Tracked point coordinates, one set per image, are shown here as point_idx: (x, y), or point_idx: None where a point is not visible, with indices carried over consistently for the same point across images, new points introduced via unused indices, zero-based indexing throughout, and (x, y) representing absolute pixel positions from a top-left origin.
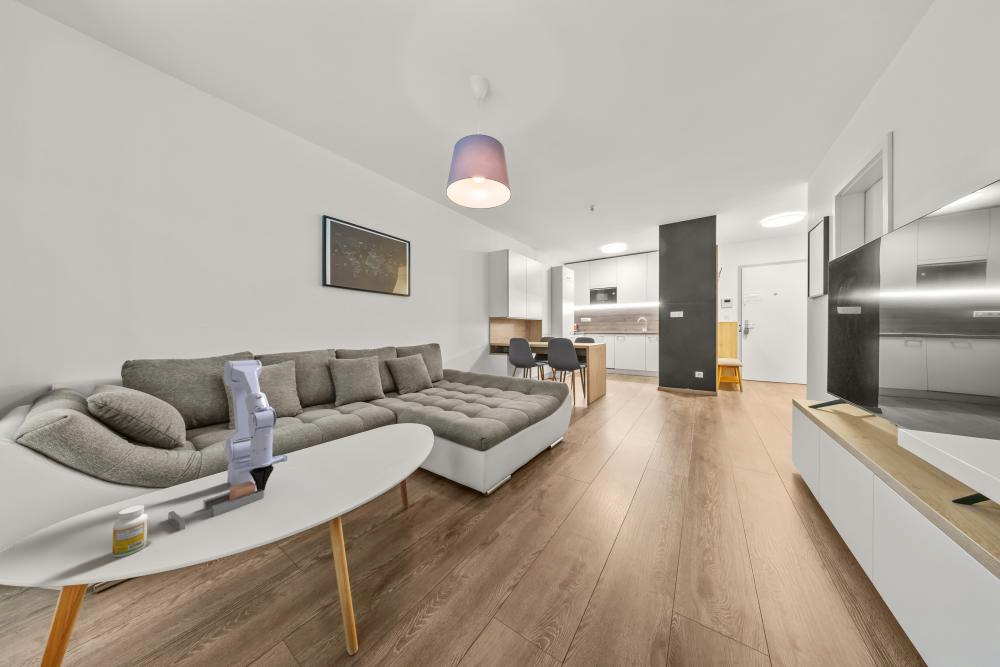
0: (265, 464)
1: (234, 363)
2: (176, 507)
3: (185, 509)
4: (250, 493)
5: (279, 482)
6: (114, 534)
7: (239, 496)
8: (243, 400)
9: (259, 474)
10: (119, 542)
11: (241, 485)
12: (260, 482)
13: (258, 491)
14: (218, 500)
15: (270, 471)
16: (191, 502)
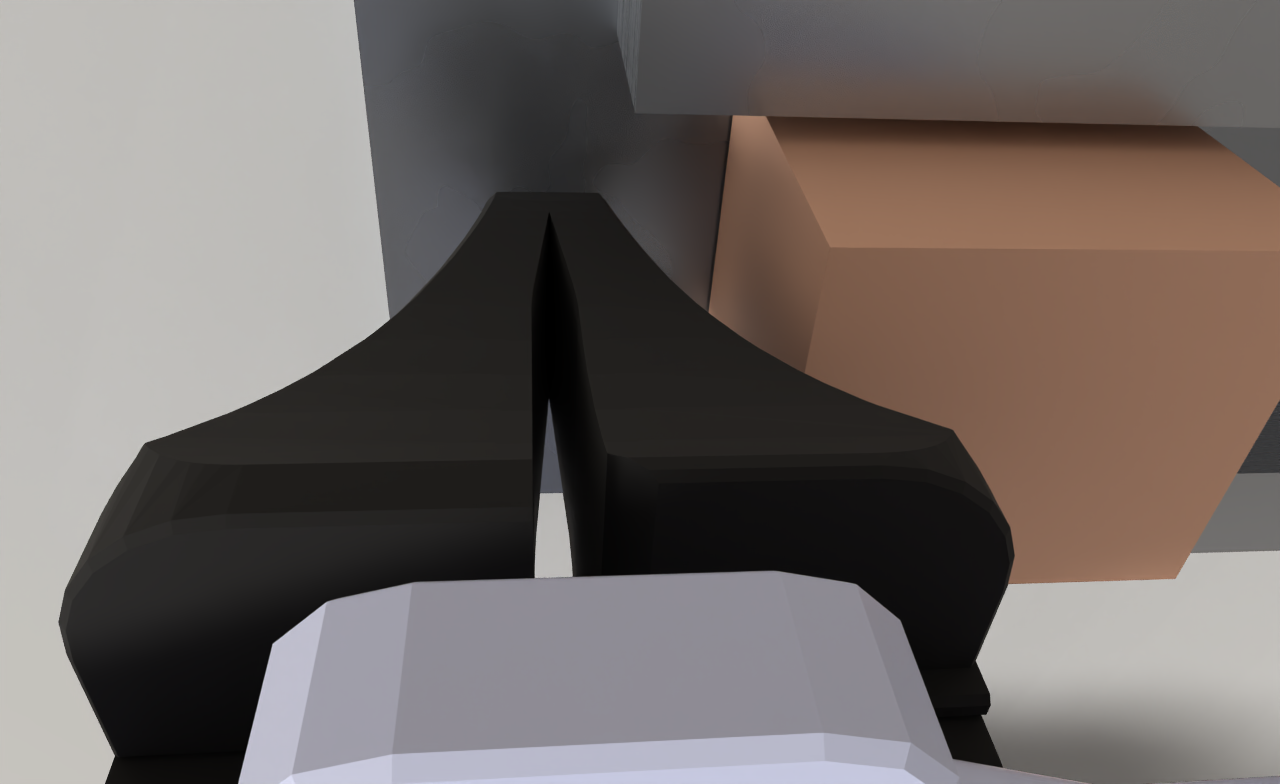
0: (791, 760)
1: None
2: (1176, 741)
3: (1203, 642)
4: (936, 83)
5: (61, 539)
6: None
7: (1145, 151)
8: None
9: (805, 424)
10: None
11: (1030, 473)
12: (642, 287)
13: (768, 5)
14: None
15: (286, 428)
16: (1049, 750)
